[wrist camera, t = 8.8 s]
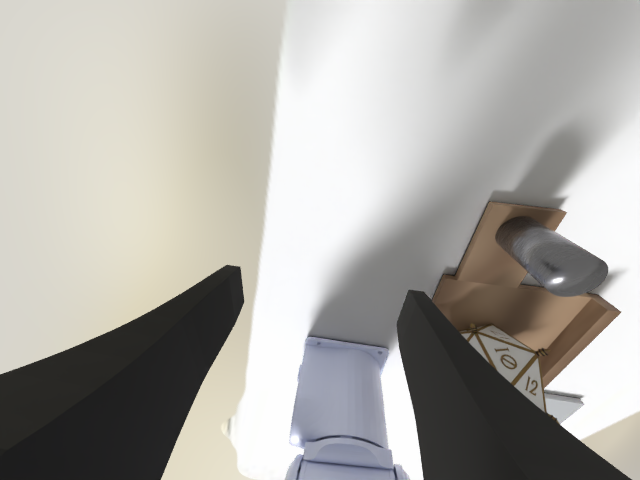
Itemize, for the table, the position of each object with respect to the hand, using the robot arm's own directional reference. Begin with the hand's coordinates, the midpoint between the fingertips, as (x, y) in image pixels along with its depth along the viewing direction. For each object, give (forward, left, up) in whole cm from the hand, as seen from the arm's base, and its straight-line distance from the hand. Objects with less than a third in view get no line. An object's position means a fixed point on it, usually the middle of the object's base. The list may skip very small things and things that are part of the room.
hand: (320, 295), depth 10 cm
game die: (+15, -12, -10) cm, 22 cm away
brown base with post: (+17, -7, -10) cm, 21 cm away
